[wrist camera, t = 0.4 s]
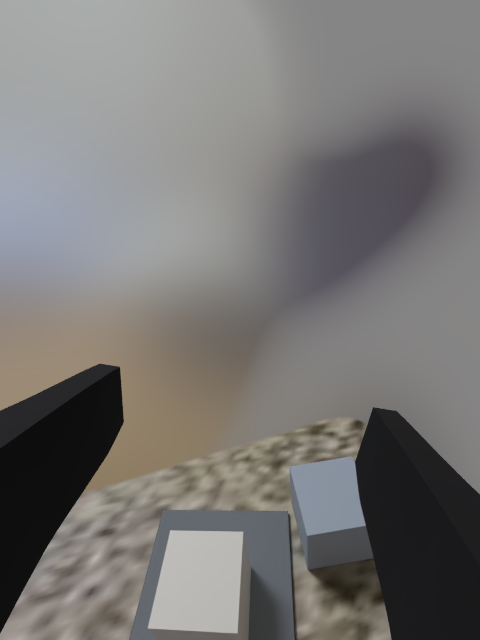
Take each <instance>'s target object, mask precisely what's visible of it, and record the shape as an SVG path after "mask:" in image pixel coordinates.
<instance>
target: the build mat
mask: <svg viewBox="0 0 480 640" xmlns="http://www.w3.org/2000/svg"><path fill="white" fill-rule="evenodd" d="M170 530H177V531H232V532H243V533H244V537H245V542H246V546H247V551H248V555H249V560H250V564H251V582H250V610H249V639H248V640H295V638H294V619H293V600H292V580H291V561H290V542H289V523H288V511H208V510H163V512H162V516H161V520H160V524H159V528H158V532H157V535H156V539H155V543H154V547H153V551H152V555H151V558H150V562H149V566H148V570H147V574H146V578H145V581H144V585H143V589H142V593H141V597H140V601H139V604H138V608H137V612H136V616H135V620H134V624H133V627H132V631H131V635H130V639H129V640H156V638H155V637H154V636H153V635H152V633H151V632H150V631H149V629H148V625H149V620H150V616H151V612H152V607H153V603H154V599H155V594H156V590H157V586H158V581H159V577H160V573H161V568H162V564H163V560H164V555H165V551H166V547H167V542H168V538H169V534H170Z"/></svg>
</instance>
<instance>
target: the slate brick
mask: <svg viewBox="0 0 480 640" xmlns="http://www.w3.org/2000/svg"><path fill="white" fill-rule="evenodd" d="M289 468H290V484H291V499H292V506H293V510H294V514H295V518H296V523H297V527H298V531H299V535H300V539H301V543H302V548H303V552H304V556H305V560H306V564H307V569H308V570H310V569H316V568H322V567H327V566H333V565H339V564H344V563H350V562H356V561H361V560H367V559H373V558H374V557H373V553H372V549H371V545H370V541H369V537H368V533H367V529H366V525H365V521H364V516H363V512H362V508H361V504H360V499H359V492H358V484H357V475H356V466H355V462H354V460H353V458H352V456H351V457H345V458H339V459H333V460H327V461H321V462H315V463H310V464H304V465H298V466H292V467H289Z"/></svg>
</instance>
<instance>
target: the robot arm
mask: <svg viewBox="0 0 480 640" xmlns="http://www.w3.org/2000/svg"><path fill="white" fill-rule="evenodd" d="M123 422H124V419H123V406H122V390H121V376H120V367H117V366H111V365H104V364H98V365H96V366H93V367H91V368H89V369H87V370H85V371H83V372H80V373H78V374H76V375H75V376H72V377H70V378H68V379H66V380H64V381H62V382H60V383H58V384H56V385H54V386H52V387H50V388H48V389H46V390H44V391H42V392H40V393H38V394H36V395H34V396H32V397H29V398H27V399H26V400H23V401H21V402H19V403H17V404H14V405H13V406H10V407H8V408H5V409H3V410H1V411H0V633H1V631H2V629H3V627H4V625H5V623H6V621H7V620H8V618H9V616H10V614H11V612H12V610H13V608H14V606H15V604H16V602H17V600H18V599H19V597H20V595H21V593H22V591H23V589H24V587H25V586H26V584H27V582H28V580H29V578H30V577H31V575H32V573H33V571H34V569H35V567H36V566H37V564H38V562H39V560H40V558H41V557H42V555H43V553H44V551H45V549H46V548H47V546H48V544H49V543H50V541H51V540H52V538H53V536H54V535H55V533H56V532H57V530H58V528H59V527H60V525H61V524H62V522H63V521H64V519H65V518H66V516H67V515H68V513H69V512H70V510H71V509H72V507H73V506H74V504H75V503H76V501H77V500H78V498H79V497H80V495H81V494H82V492H83V491H84V489H85V488H86V486H87V485H88V483H89V482H90V480H91V479H92V477H93V476H94V474H95V473H96V471H97V470H98V468H99V466H100V465H101V463H102V462H103V461H104V459H105V458H106V456H107V454H108V453H109V451H110V449H111V447H112V445H113V443H114V441H115V439H116V437H117V435H118V433H119V431H120V428H121V426H122V425H123ZM355 466H356V475H357V484H358V492H359V499H360V504H361V508H362V512H363V516H364V521H365V525H366V529H367V533H368V537H369V541H370V545H371V549H372V553H373V557H374V561H375V565H376V569H377V573H378V577H379V581H380V585H381V589H382V593H383V597H384V602H385V607H386V611H387V616H388V621H389V626H390V632H391V638H392V640H480V494H479V493H478V492H477V491H476V490H474V489H473V488H472V487H471V486H470V485H469V484H468V483H467V482H466V481H465V480H464V479H463V478H462V477H461V476H460V475H459V474H458V473H457V472H456V471H455V470H454V469H453V468H452V467H451V466H450V465H449V464H448V463H447V462H446V461H445V460H444V459H443V458H442V457H441V456H440V455H439V454H438V453H437V452H436V451H435V450H434V449H433V448H432V447H431V446H430V445H429V444H428V443H427V441H426V440H425V439H424V438H422V436H421V435H420V434H419V433H418V432H417V431H416V430H415V429H414V428H413V427H412V426H411V425H410V424H409V423H408V422H407V421H406V420H405V419H404V418H403V417H402V416H401V415H400V414H399V413H398V412H397V411H392V410H386V409H380V408H373V410H372V413H371V416H370V419H369V422H368V425H367V428H366V431H365V434H364V437H363V440H362V443H361V446H360V449H359V452H358V455H357V458H356V461H355Z"/></svg>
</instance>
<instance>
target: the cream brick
mask: <svg viewBox="0 0 480 640" xmlns="http://www.w3.org/2000/svg"><path fill="white" fill-rule="evenodd" d="M250 582H251V564H250V560H249V555H248V551H247V546H246V542H245V537H244V533H243V532H232V531H177V530H170V534H169V538H168V542H167V547H166V551H165V555H164V560H163V564H162V568H161V573H160V577H159V581H158V586H157V590H156V594H155V599H154V603H153V607H152V612H151V616H150V620H149V625H148V629H149V631H150V632H151V633H152V635H153V636H154V637H155V638H156V640H248V639H249V610H250Z"/></svg>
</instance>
